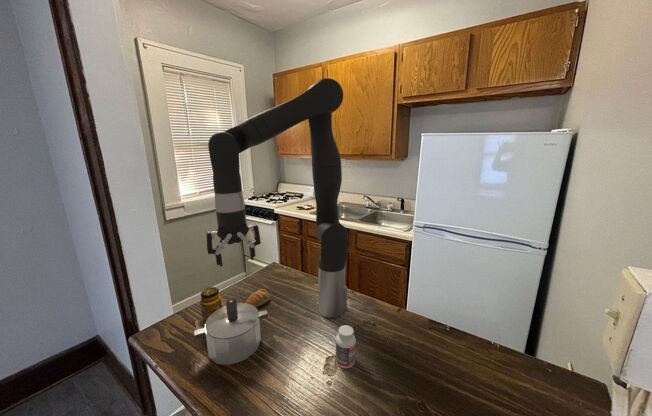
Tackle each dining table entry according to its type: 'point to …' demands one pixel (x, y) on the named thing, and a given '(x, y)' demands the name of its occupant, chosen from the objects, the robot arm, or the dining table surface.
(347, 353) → the pill bottle
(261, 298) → the pastry
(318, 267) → the robot arm
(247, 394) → the dining table surface
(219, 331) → the lid
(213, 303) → the condiment
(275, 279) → the dining table surface
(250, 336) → the pot
